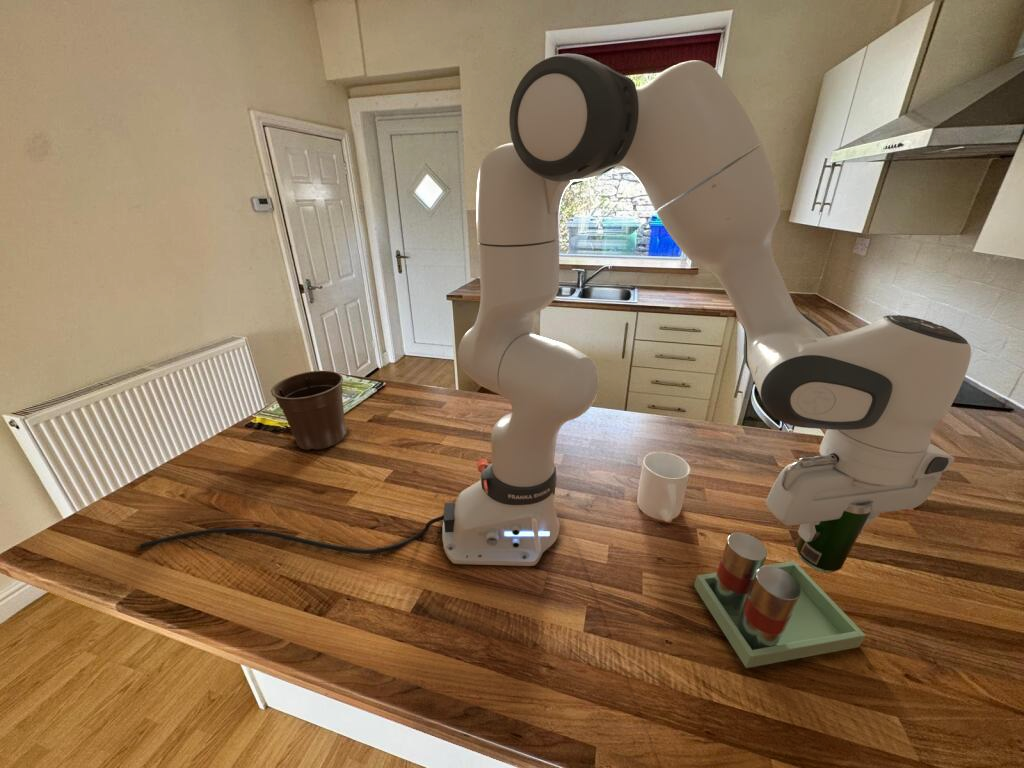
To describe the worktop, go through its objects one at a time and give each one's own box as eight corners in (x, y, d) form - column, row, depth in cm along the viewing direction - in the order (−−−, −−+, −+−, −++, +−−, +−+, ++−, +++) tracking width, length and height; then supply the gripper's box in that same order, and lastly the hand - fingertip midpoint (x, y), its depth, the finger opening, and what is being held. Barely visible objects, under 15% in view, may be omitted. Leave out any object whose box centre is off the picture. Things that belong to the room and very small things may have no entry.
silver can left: (723, 618, 60) (742, 562, 55) (703, 588, 65) (720, 534, 59) (754, 613, 61) (776, 557, 56) (732, 584, 65) (751, 530, 60)
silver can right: (750, 660, 55) (775, 602, 50) (727, 624, 59) (747, 568, 54) (784, 654, 56) (811, 596, 50) (758, 619, 60) (781, 563, 55)
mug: (644, 534, 76) (652, 489, 71) (632, 491, 86) (639, 450, 82) (691, 537, 75) (702, 492, 70) (673, 493, 86) (683, 452, 81)
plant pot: (275, 442, 104) (257, 386, 97) (331, 416, 116) (319, 365, 109) (310, 464, 96) (293, 405, 89) (366, 433, 108) (356, 379, 101)
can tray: (745, 670, 54) (750, 656, 53) (693, 587, 65) (696, 575, 64) (858, 648, 57) (866, 635, 55) (789, 573, 68) (794, 560, 66)
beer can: (830, 581, 53) (865, 514, 48) (787, 553, 57) (814, 488, 52) (847, 562, 56) (882, 496, 50) (805, 537, 60) (833, 473, 54)
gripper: (812, 477, 44) (777, 564, 50) (968, 458, 47) (916, 542, 53) (770, 444, 50) (743, 526, 56) (912, 428, 52) (871, 508, 58)
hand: (828, 534), depth 54 cm, fingers closed on beer can, 5 cm apart
